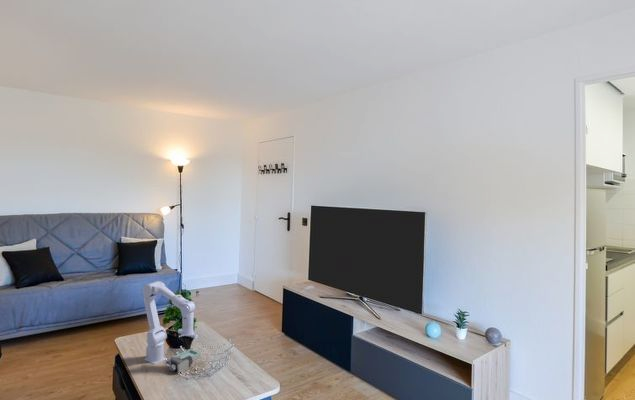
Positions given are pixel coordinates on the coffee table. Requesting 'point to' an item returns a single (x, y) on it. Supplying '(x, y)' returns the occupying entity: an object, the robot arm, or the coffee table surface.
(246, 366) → the coffee table surface
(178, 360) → the socket
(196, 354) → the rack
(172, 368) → the drill
